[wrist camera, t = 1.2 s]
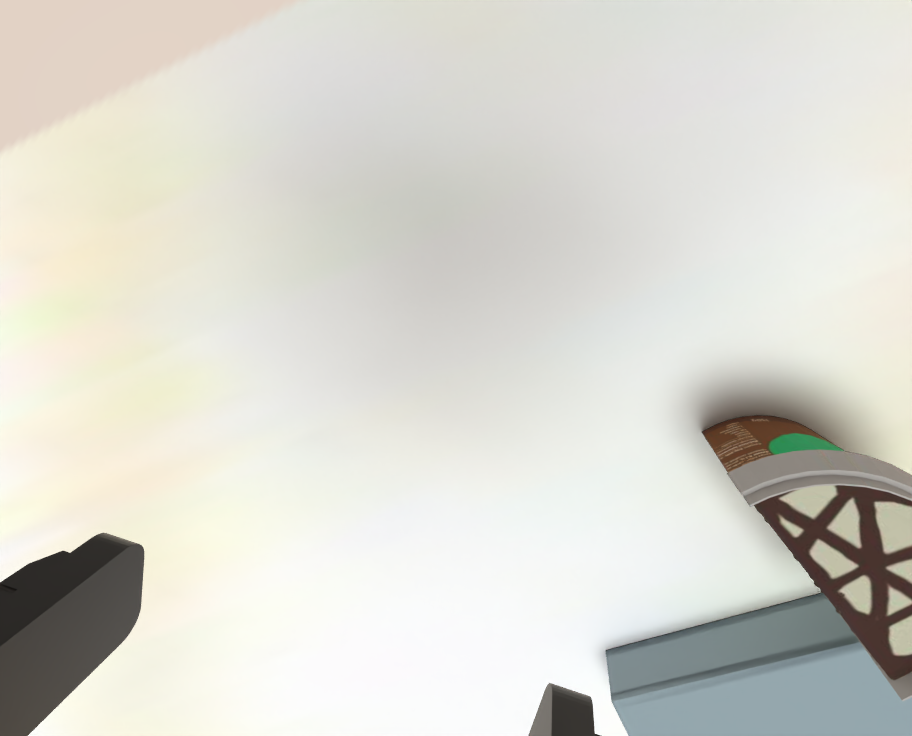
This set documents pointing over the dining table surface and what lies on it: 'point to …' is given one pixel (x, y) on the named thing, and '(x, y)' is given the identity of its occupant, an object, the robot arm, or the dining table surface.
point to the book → (757, 679)
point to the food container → (834, 526)
